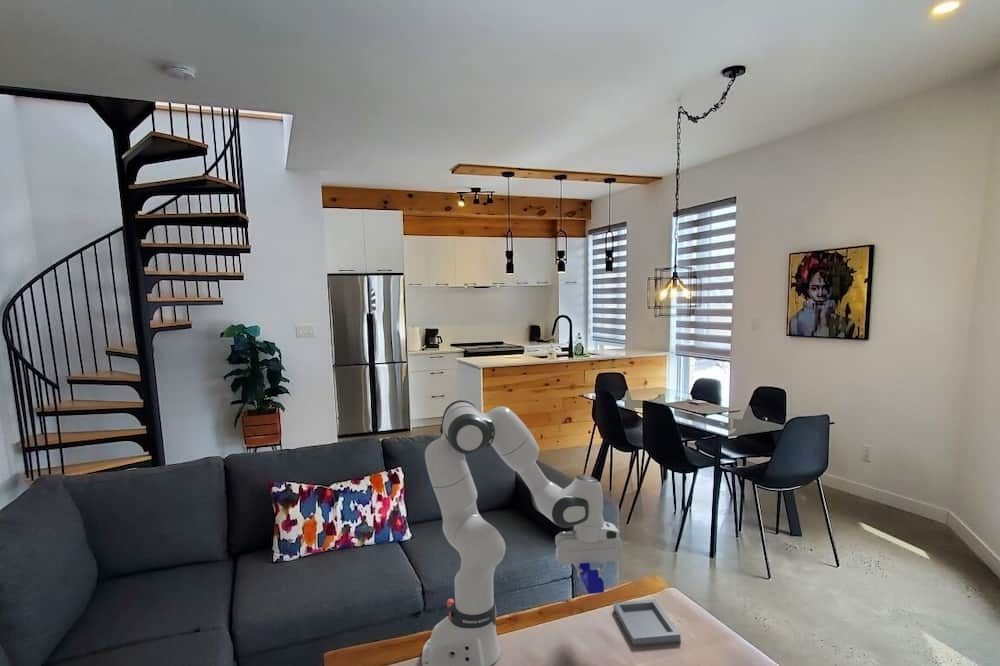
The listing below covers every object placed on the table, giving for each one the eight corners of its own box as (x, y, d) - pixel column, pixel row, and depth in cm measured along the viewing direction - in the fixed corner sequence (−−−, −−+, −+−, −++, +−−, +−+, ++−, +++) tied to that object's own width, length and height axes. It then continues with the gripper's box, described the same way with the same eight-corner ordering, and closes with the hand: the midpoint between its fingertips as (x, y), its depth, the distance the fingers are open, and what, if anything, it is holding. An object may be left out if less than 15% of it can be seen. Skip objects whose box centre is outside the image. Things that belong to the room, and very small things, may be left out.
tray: (633, 647, 140) (633, 638, 139) (613, 610, 157) (613, 602, 157) (680, 642, 141) (680, 634, 141) (655, 607, 159) (655, 599, 159)
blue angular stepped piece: (603, 592, 141) (603, 571, 140) (588, 593, 140) (588, 573, 140) (592, 571, 152) (592, 552, 152) (578, 572, 152) (577, 553, 152)
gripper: (556, 536, 143) (558, 583, 143) (625, 532, 144) (626, 578, 145) (552, 528, 149) (554, 572, 149) (618, 523, 151) (619, 568, 151)
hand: (590, 575), depth 147 cm, fingers closed on blue angular stepped piece, 4 cm apart
